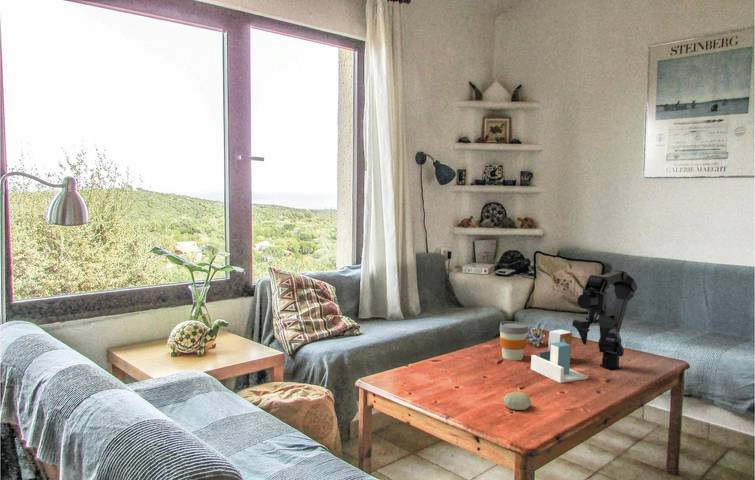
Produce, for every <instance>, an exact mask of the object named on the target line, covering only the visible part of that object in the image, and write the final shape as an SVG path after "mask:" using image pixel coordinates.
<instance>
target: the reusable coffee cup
mask: <svg viewBox="0 0 755 480" xmlns="http://www.w3.org/2000/svg"><path fill="white" fill-rule="evenodd" d="M528 328H529V324H526V323H525V322H519V321H502V322H500V324H499V334H500V335H499V345H500V347H501V357H502V358H503V359H505V360H508V361H522V360H523V357H524V352H525V349H526V346H527V342H528V341H527V340H528V339H527V337H526V336H527V333H528Z"/></svg>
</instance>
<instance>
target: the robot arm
mask: <svg viewBox="0 0 755 480" xmlns="http://www.w3.org/2000/svg"><path fill="white" fill-rule="evenodd" d="M611 285H612V286H613V287H614V289H613V292H614V293H615V297H616V298H615V302H614V304H613V305H614V306H613V309H612V311H611V314H610V315H608V314H607V310H606V309H605V298H606V297H605V296H606V295H607V292H606V291H607V290H608V289H609V288H610V286H611ZM637 290H638V285H637V283H636V281H635V279H634V278H632V277H631V276H630V275H629V274H628V272H627V271H624V270H619V269H615V270H613V271H610V272H608V273H605V274H591V275H589V277H588V278H587V280H586V282H585V285H584V287H583V289H582V294H580V295H579V296H578V297H577V302H576V303H577V305H578V307H579V308H581V309H583V310H585V309H586V311H588V312H587V313H588V314H587V316H586V317H585V319H582V318H575V319H574V320H572V325H571V326H572V327H574V329H576V331H577V332H578V334H579V336H580V340H581V342H582V344H583V345H584V346H585V345H587V341H588V333H589V331H591V329H589V328H590V327H591V326H592V327H593V326H599V327H598V328H599V338H598V343H597V344H598V350H599V353H602V357H601V363H600V364H599V367H602V368H604V369H607V370H609V371H613V370H614V371H615V370H620V369H621V370H622V366H620V357H623V356H624V353H625V349H624V347H623V344H622V337H621V334H620V331H621V328H622V324H623V321H624V317H625V313H626V310H627V307H628V303H629V301H630V300H632V298H634V296H635V294H636V291H637Z"/></svg>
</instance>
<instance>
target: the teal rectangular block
mask: <svg viewBox="0 0 755 480" xmlns="http://www.w3.org/2000/svg"><path fill="white" fill-rule="evenodd" d="M570 350H571V351H572V344H571V345H569V344H566V343H564V342H557V343H551V347H550V362H552V363H554V364H557V365H559V366H561V367H563V368H564V375H565V374H569V369H571V365H570V364H571V357H570Z"/></svg>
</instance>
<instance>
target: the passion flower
mask: <svg viewBox="0 0 755 480" xmlns="http://www.w3.org/2000/svg"><path fill="white" fill-rule="evenodd" d="M526 337H527V342H529V343H531V345H532V346H533V347H534V346H535V347H536V348H538V347H539V346H540V344H544V340H543V339H544V338H545V337H546V336H545V334H543V332H542V328H539V327H537V325H535V326H534V325H532V324H530V323H529V324H528V333H527V336H526Z"/></svg>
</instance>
